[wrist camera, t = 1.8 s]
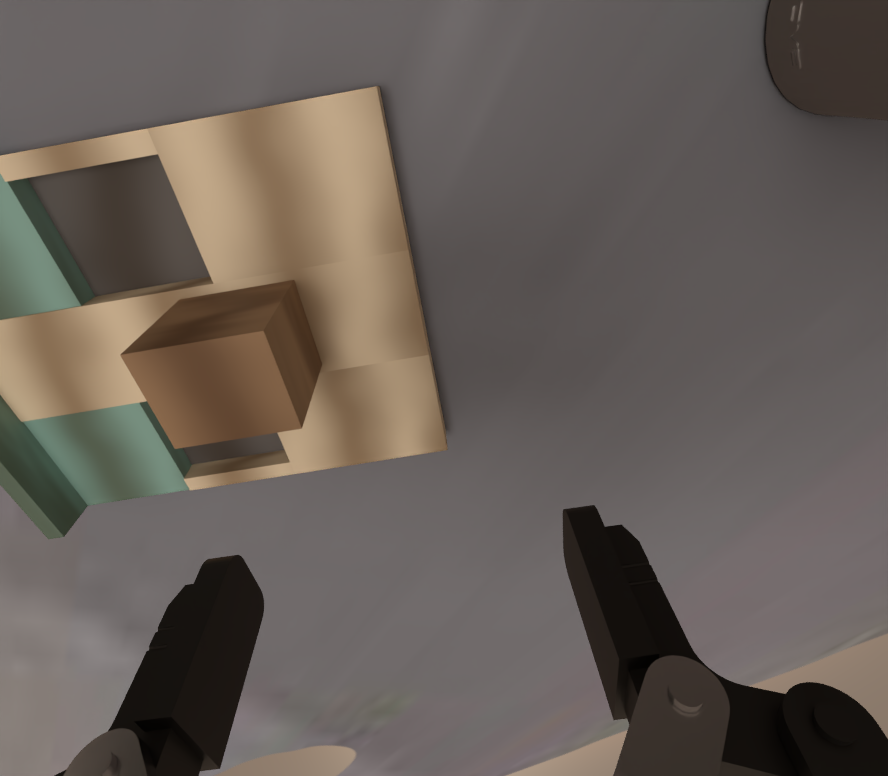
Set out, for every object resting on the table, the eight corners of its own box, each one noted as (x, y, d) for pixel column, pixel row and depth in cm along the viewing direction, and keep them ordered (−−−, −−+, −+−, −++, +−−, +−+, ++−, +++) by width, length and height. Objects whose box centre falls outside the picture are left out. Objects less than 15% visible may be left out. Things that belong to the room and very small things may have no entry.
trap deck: (379, 86, 22) (372, 86, 18) (445, 430, 33) (450, 476, 29) (-140, 181, 23) (-250, 201, 19) (89, 487, 34) (48, 539, 30)
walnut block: (293, 279, 25) (263, 330, 20) (322, 364, 27) (301, 428, 22) (179, 299, 25) (119, 355, 20) (218, 381, 27) (175, 449, 22)
